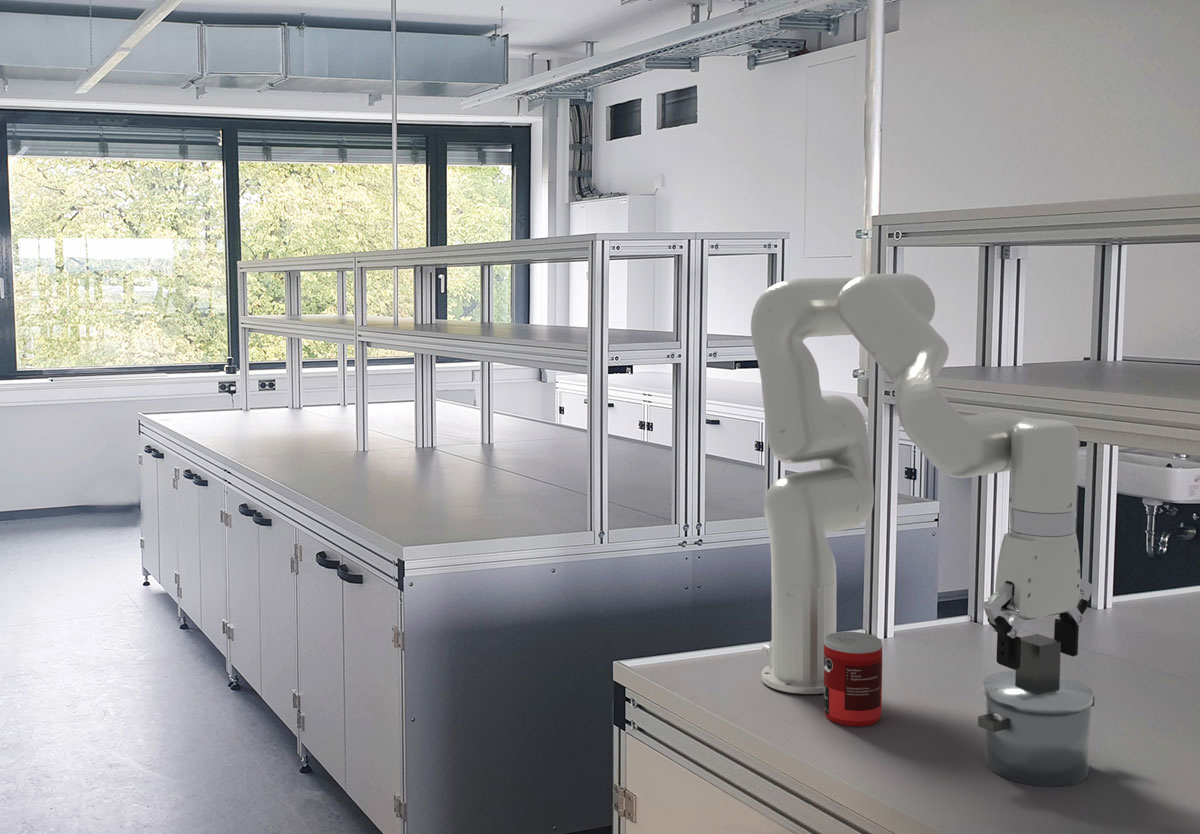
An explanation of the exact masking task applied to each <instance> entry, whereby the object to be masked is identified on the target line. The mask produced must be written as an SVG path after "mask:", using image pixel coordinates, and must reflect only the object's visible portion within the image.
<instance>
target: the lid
mask: <svg viewBox="0 0 1200 834" xmlns="http://www.w3.org/2000/svg"><path fill="white" fill-rule="evenodd" d="M982 691H983V694H984V696H985V698H986V697H987V698H988V699H989V700H991V701H993V702H994V703H997V704H999V705H1001V706H1004V707H1007V708H1010V709H1014V710H1018V711H1023V712H1029V713H1038V714H1069V713H1075V712H1080V711H1083V710H1085V709H1087V708H1089V707H1090V706H1091V705H1092V702H1093V696H1094V693H1093V690H1092V689H1091V687H1090V686H1089V685H1088V684H1086V683H1084V682H1082V681H1080V680H1078V679H1075V678H1073V677H1069V676H1066V675H1063V674H1061V641H1057V640H1054V638H1051V637H1047V636H1046V635H1042V634H1038V633H1036V634H1031V635H1025V636H1021V658H1020V668H1019V669H1017V670H1005V671H1000V672H996V673H993V674H990V675H988V676H987V677H986V678H984V680H983V683H982ZM1090 708H1091V707H1090Z"/></svg>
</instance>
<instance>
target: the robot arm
mask: <svg viewBox="0 0 1200 834" xmlns="http://www.w3.org/2000/svg"><path fill="white" fill-rule="evenodd" d="M935 311H936V299H935V296H934V294H933V291H932V289H931V288H930V286H929V285H928V284H927V282H925V281H924V280H923V279H922V278H920V277H918V276H917V275H914V274H911V273H903V272H902V273H900V272H899V273H869V274H864V275H860V276H857V277H821V278H820V277H805V278H804V277H803V278H802V277H801V278H791V279H786V280H783V281H779V282H778V283H775V284H772V285H771V286H769V287H768V288H767V289H765V290H764V291H763V292H762V294H761V295H760V296H759V297H758V299H757V301H756V303H755V304H754V307H753V310H752V314H751V319H750V320H751V321H750V332H751V341H752V345H753V348H754V354H755V356H756V360H757V363H758V368H759V375H760V380H761V383H760V384H761V393H762V402H763V403H762V404H763V411H764V422H765V428H766V435H767V436H766V437H767V444H768V447H769V449H770V453H771V454H772V456H774V458H775V459H776V460H777V461H780V462H782V463H786V464H804V463H811V462H817V461H819V465H820V469H813V470H807V471H801V472H795V473H791V474H788V475H785V476H783V477H781V478H779V479H777V480H776V481H775V482H773V483H772V484H771V485H770V487H769V488H768V490H767V491H766V494H765V496H764V505H763V507H764V515H765V521H766V527H767V532H768V537H769V545H770V558H771V559H770V561H771V563H770V564H771V565H770V567H771V572H770V574H771V575H770V576H771V577H770V578H771V640H770V642H769V645H767V644H764V645H763V646H762V649H761V650H762V651H761V652H762V653H763V654H765V655H767V656H769V658H768V659H769V660H768V661H769V662H768V665H766V666H765V667H763V668H762V670H761V681H762V682H763V683H764V684H765V686H768V687H769V688H772V689H773V690H777V691H780V692H783V693H784V692H785V693H790V694H799V695H819V694H820V695H821V694H824V639H825V637H826V636H827V635H829V634H832V633H837V565H836V564H837V562H836V559H835V556H834V554H833V551H832V549H831V547H830V545H829V543H828V541H827V538H826V535H828V534H830V533H831V534H832V533H835V532H840V531H845V530H850V529H852V528H856V527H858V526H860V525H862V524H863V523H865V522H866V521H867V520H868V519H869V518H870V516H871V514H872V511H873V507H874V500H875V498H874V497H875V493H874V492H875V490H874V489H875V488H874V479H873V472H872V471H873V470H872V462H871V452H870V443H869V442H870V441H869V435H868V428H867V424H866V421H865V418H864V416H863V414H862V411H861V410H860V408H859V407H858V406H857V404H855V403H854V402H853V401H852V400H851V399H849V398H847V397H845V396H841V395H833V394H832V395H823V394H822V391H821V384H820V372H819V368H818V365H817V362H816V359H815V357H814V356H813V354H812V352H811V351H810V349H809V348H808V346H806V344H805V343H804V340H805V339H807V338H815V337H817V338H818V337H822V338H823V337H833V336H834V337H835V336H853V337H854V338H855V339H856V340H857V341H858V342H859V344H860V345H861V347H863V349H864V350H865V351H866V352H867V354H869V356H870V357H871V358H872V359H873V360H874V361H875V362H876V364H877V365H878V366H879V367H880V368H881V370H882V371H883V372H884V374H886V376H887V377H888V378H889V379H890V380H891V382H892V383H893V384H894V401H895V406H896V411H897V415H898V419H899V421H900V424H901V426H902V428H903V430H904V432H905V433H906V435H907V437H908V438H909V439H910V440H911V442H912V443H913V444H914V445H915V446H916V447H917V448H918V450H919V451H920V453H921V454H922V455H923V456H924V457H925V458H926V459H927V460H928V461H929V462H930V463H931V465H932V466H934V467H935V468H936V469H937V470H939V471H940V472H942V473H943V474H945V475H946V476H949V477H952V478H957V479H969V478H974V477H978V476H986V475H989V474H998V473H1003V472H1005V473H1006V472H1009V471H1010V473H1009V475H1010V478H1009V506H1008V507H1009V508H1008V509H1009V510H1008V511H1009V512H1008V532H1007V533H1004V534H1003V537H1002V541H1001V545H1000V549H999V554H998V560H997V566H996V576H995V585H994V586H995V587H994V593H992V594H991V595H990V596H989V597H988V598H987V599H985V600H984V601H983V603H982V607H983V610H984V612H985V614H986V617H987V622H988V624H990V626H991V627H992V630H993V632H994V633H996V634H997V635H996V636H997V637H996V663H997V664H999V665H1000V666H1003V667H1006V668H1009V669H1011V670H1012V671H1016V670H1017V669H1019V668H1020V658H1021V637H1022V636H1021V637H1020V636H1018V634H1019V632H1020V630H1021V629H1022V628H1023V626H1024V624H1025V622H1026V621H1030V620H1031V621H1032V620H1037V619H1041V618H1047V617H1052V616H1056V615H1057V616H1058V618H1055V619H1054V629H1053V630H1054V631H1053V632H1054V633H1053V635H1054V636H1053V639H1054V640H1057V641H1061V653H1062V654H1064V655H1067V656H1070V657H1076V656H1078V654H1079V630H1080V627H1079V625H1080V624H1082V623H1083V620H1084V617H1083V615H1084V613H1085V612H1086V610H1087V608H1088V607H1089V600H1090V597H1091V595H1092V593H1093V590H1094V585H1093V584H1092V583H1090V582H1089V581H1086V580H1084V579H1083V578H1081V561H1080V550H1079V549H1080V548H1079V541H1078V536H1077V533H1076V518H1077V490H1078V489H1077V486H1078V467H1079V466H1078V465H1079V464H1078V463H1079V432H1078V429H1077V428H1076V426H1075V425H1074V424H1073V423H1071V422H1069V421H1065V420H1060V419H1059V420H1058V419H1049V418H1048V419H1047V418H1046V419H1045V418H1043V419H1042V418H1039V419H1038V418H1031V417H1028V416H1026V415H1021V414H1019V413H1015V412H1009V411H995V412H987V413H978V414H969V415H964V416H963V415H961V414H960V413H959V412H958V411H957V410H956V409H955V408H954V407H953V405H952V404H951V402H949V401H948V399H947V398H946V397H945V395H943V393H942V392H941V391H940V389H939V387H938V385H937V383H936V381H935V376H936V375H938V374H939V373H940V371H941V370H942V369H943V367H944V366H945V364H946V362H947V360H948V357H949V354H950V353H949V351H950V349H949V345H948V343H947V342H946V340H945V339H944V338H943V337H942V336H941V335H940V334H939V333H938V332H937V331H936V329H935V328H934V327H933V326H932V325H931V324H930V323H931V321H932V320H933V318H934V316H935ZM1011 618H1013V620H1012V621H1011V623H1009V621H1010V619H1011ZM1061 653H1060V654H1061Z"/></svg>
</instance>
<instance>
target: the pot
mask: <svg viewBox="0 0 1200 834" xmlns="http://www.w3.org/2000/svg"><path fill="white" fill-rule="evenodd" d="M1094 706H1095V696H1094V695H1093V702H1092V705H1091V706H1090V707H1089V708H1087V709H1085V710H1083V711H1080V712H1075V713H1069V714H1038V713H1029V712H1023V711H1018V710H1014V709H1010V708H1007V707H1004V706H1001V705H999V704H997V703H994V702H993V701H991V700H989V699H988V698H987V697H986V696H985V714H982V715H978V717H977V726H978V727H979V728H981V729H984V731H985V737H984V739H985V740H984V741H985V742H984V762H985V765H986V767H987V768H988V770H990V771H991V772H993V773H994V774H996V775H998V776H999V777H1002V778H1004V779H1006V780H1010V781H1013V782H1016V783H1021V784H1024V785H1030V786H1036V787H1038V786H1039V787H1050V788H1051V787H1054V788H1055V787H1063V786H1064V787H1067V786H1072V785H1075V784H1079V783H1081V782H1083V781H1084V780H1086V778H1087V777H1088V776H1089V768H1090V767H1089V765H1090V763H1089V761H1090V734H1091V733H1090V732H1091V731H1090V730H1091V708H1092V707H1093V708H1094Z"/></svg>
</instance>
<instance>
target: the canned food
mask: <svg viewBox="0 0 1200 834" xmlns="http://www.w3.org/2000/svg"><path fill="white" fill-rule="evenodd" d="M882 692H883V641H882V640H881V638H879V637H877V636H876V635H872V634H870V633H865V632H858V631H836V633H832V634H829V635H827V636H826V637H825V639H824V693H823V710H824V711H823V712H824V714H825V717H826V718H827V719H828V720H829V721H830V722H832V723H835V724H836V725H840V724H841V726H844V725H845V727H852V726H855V727H856V728H862V727H863V726H864V727H870V726H873V725H876V724H877V723H879V721H880V720H881V717H882V708H883V707H882V705H883V704H882V703H883V702H882V701H883V699H882V698H883V693H882ZM875 723H876V724H875ZM869 725H870V726H869ZM861 726H862V727H861Z"/></svg>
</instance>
